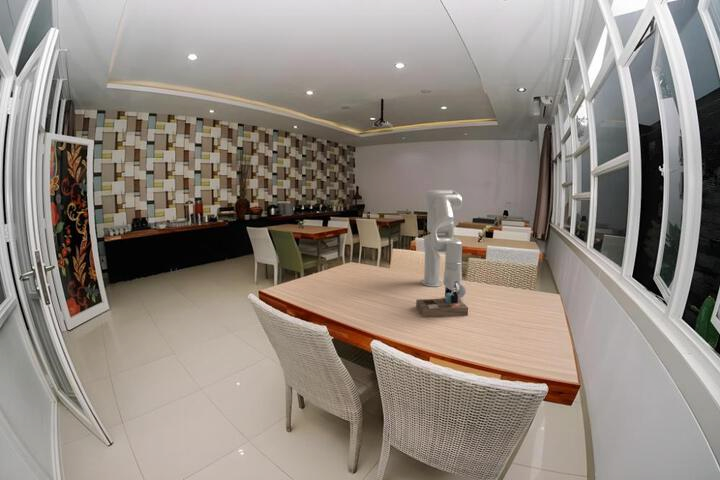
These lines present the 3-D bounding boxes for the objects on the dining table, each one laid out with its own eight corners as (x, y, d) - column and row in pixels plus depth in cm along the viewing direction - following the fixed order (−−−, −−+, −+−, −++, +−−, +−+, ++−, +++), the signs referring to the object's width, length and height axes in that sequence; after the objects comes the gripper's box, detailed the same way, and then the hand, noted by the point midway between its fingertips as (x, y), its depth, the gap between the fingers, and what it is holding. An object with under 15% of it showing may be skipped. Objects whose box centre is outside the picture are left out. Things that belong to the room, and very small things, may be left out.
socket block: (416, 306, 147) (416, 299, 147) (457, 305, 149) (457, 297, 148) (423, 317, 136) (423, 308, 135) (467, 315, 137) (468, 306, 137)
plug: (445, 307, 146) (445, 293, 145) (452, 307, 146) (453, 292, 145) (447, 311, 142) (448, 295, 141) (455, 310, 143) (456, 295, 141)
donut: (446, 298, 158) (447, 281, 157) (446, 296, 162) (447, 279, 160) (465, 301, 155) (466, 283, 153) (465, 298, 158) (466, 281, 156)
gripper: (439, 261, 149) (437, 293, 152) (452, 270, 131) (450, 307, 135) (453, 260, 149) (451, 293, 152) (468, 270, 132) (466, 306, 135)
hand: (451, 299), depth 143 cm, fingers open, 7 cm apart
